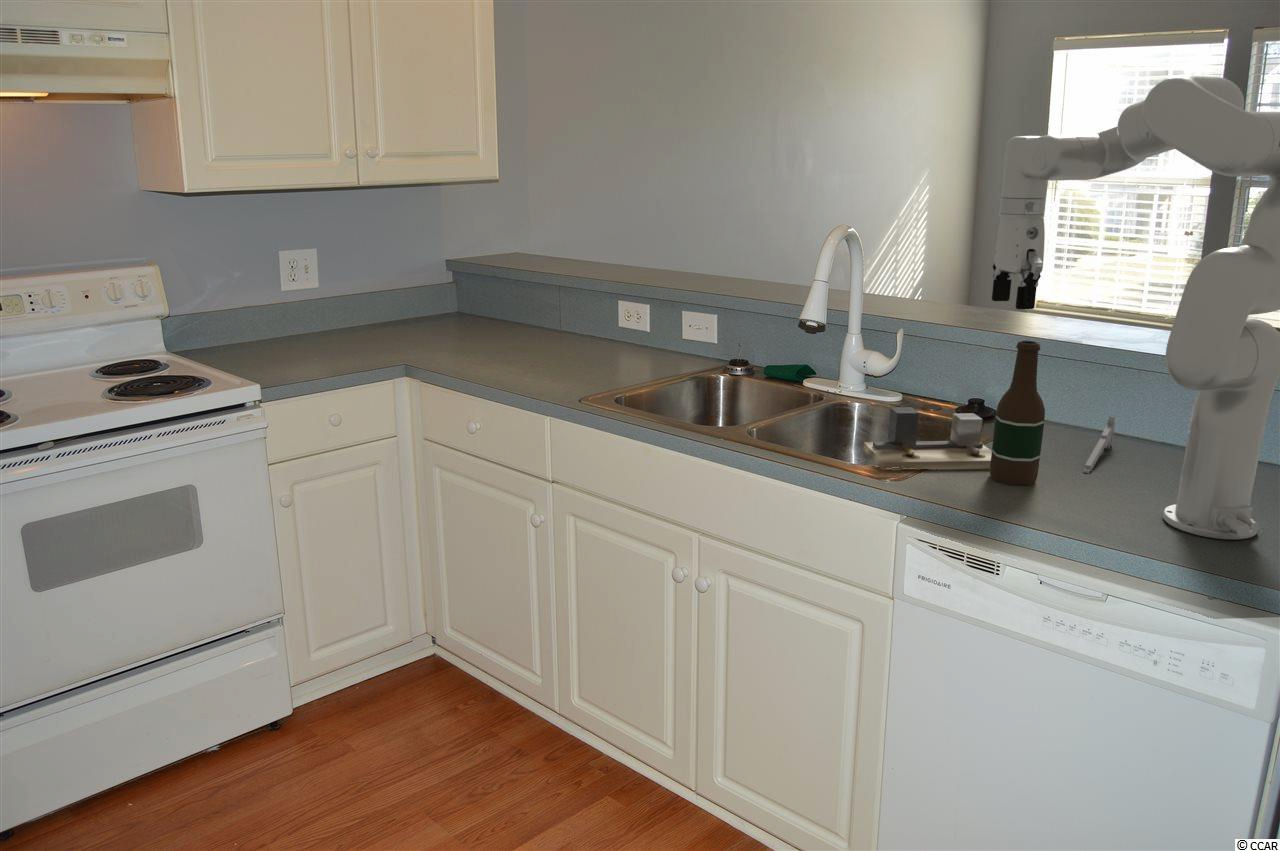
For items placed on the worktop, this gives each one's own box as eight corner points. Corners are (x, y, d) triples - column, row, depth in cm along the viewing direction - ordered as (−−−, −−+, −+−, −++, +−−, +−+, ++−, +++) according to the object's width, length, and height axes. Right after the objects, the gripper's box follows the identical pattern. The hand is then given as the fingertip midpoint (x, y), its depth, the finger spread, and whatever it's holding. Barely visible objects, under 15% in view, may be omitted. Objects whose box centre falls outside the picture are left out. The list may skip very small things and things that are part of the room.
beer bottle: (992, 469, 177) (1007, 336, 171) (1038, 476, 174) (1056, 340, 167) (985, 482, 170) (1001, 344, 164) (1034, 489, 167) (1052, 348, 161)
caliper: (1105, 446, 192) (1110, 415, 190) (1111, 447, 192) (1116, 415, 190) (1082, 474, 176) (1087, 439, 174) (1088, 475, 176) (1093, 440, 174)
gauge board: (1003, 468, 178) (1008, 429, 176) (882, 470, 176) (885, 430, 174) (977, 448, 189) (981, 411, 187) (863, 449, 188) (865, 412, 186)
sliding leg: (923, 455, 179) (926, 418, 177) (901, 455, 178) (904, 419, 176) (908, 442, 186) (911, 407, 184) (887, 442, 186) (890, 407, 184)
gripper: (1067, 211, 169) (1055, 312, 173) (1020, 205, 186) (1010, 297, 190) (1024, 211, 168) (1013, 312, 173) (981, 205, 185) (972, 298, 189)
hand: (1012, 304), depth 181 cm, fingers open, 9 cm apart
